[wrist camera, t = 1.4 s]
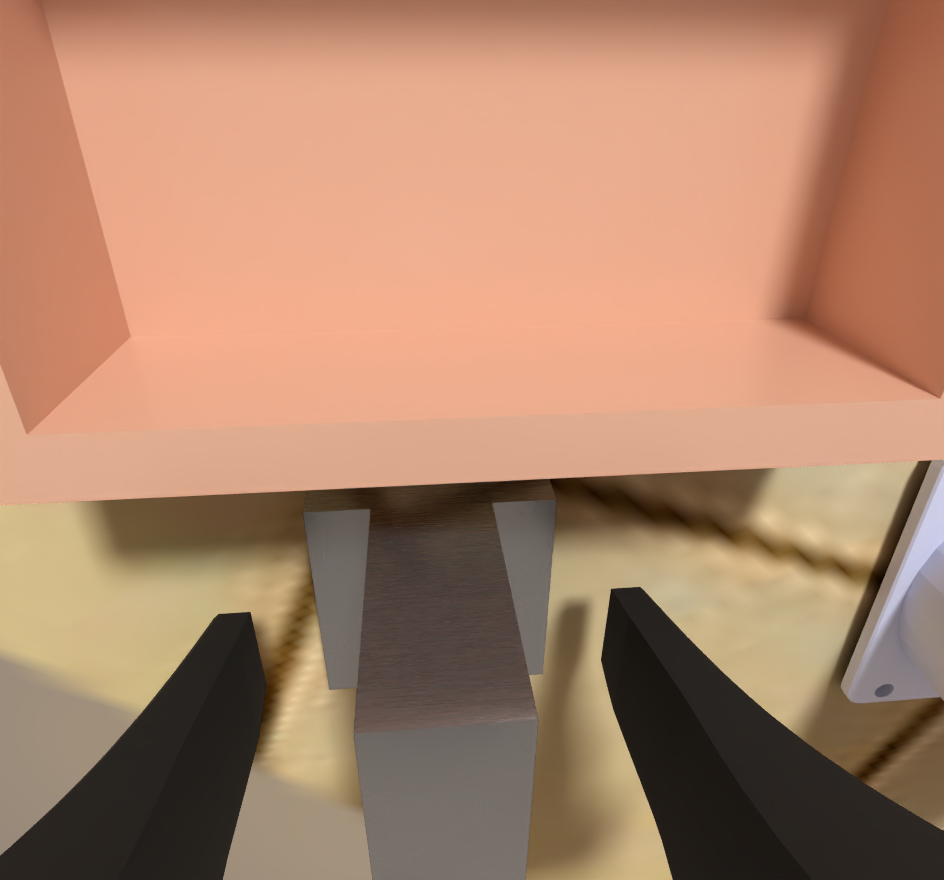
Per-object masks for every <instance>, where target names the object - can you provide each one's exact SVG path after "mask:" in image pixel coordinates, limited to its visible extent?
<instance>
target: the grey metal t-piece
mask: <svg viewBox="0 0 944 880" xmlns="http://www.w3.org/2000/svg"><path fill="white" fill-rule="evenodd" d="M556 505H557V499H556V496H555V493H554V490H553V488H552V485H551V482H550V480H549V479H532V480H511V481H490V482H470V483H449V484H428V485H407V486H387V487H366V488H345V489H324V490H308V492H307V496H306V500H305V505H304V509H303V518H304V525H305V531H306V538H307V544H308V551H309V558H310V564H311V571H312V578H313V584H314V591H315V597H316V604H317V611H318V617H319V624H320V631H321V637H322V644H323V650H324V657H325V664H326V670H327V677H328V683H329V690H332V689H346V688H357V695H356V708H355V721H354V742H355V749H356V757H357V765H358V772H359V780H360V787H361V795H362V803H363V810H364V818H365V826H366V833H367V840H368V849H369V856H370V864H371V871H372V878H373V880H526V867H527V855H528V842H529V830H530V818H531V805H532V793H533V780H534V768H535V755H536V743H537V730H538V716H537V711H536V706H535V701H534V697H533V692H532V687H531V683H530V678H529V675H537V674H543V665H544V652H545V640H546V628H547V615H548V603H549V591H550V578H551V566H552V554H553V541H554V529H555V517H556Z"/></svg>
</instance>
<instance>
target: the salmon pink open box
mask: <svg viewBox="0 0 944 880" xmlns="http://www.w3.org/2000/svg"><path fill="white" fill-rule="evenodd" d="M926 460H944V0H0V505H14V504H34V503H55V502H76V501H96V500H117V499H138V498H159V497H179V496H200V495H221V494H242V493H262V492H283V491H304V490H324V489H345V488H366V487H387V486H407V485H428V484H449V483H470V482H490V481H511V480H532V479H552V478H573V477H594V476H615V475H635V474H656V473H677V472H698V471H718V470H739V469H760V468H780V467H801V466H822V465H843V464H863V463H884V462H905V461H926Z"/></svg>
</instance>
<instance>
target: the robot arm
mask: <svg viewBox="0 0 944 880" xmlns="http://www.w3.org/2000/svg"><path fill="white" fill-rule="evenodd" d="M601 662H602V666H603V670H604V675H605V679H606V683H607V687H608V691H609V695H610V699H611V702H612V706H613V710H614V712H615V715H616V718H617V721H618V723H619V726H620V729H621V731H622V734H623V737H624V739H625V742H626V745H627V747H628V750H629V753H630V755H631V758H632V760H633V763H634V766H635V768H636V771H637V774H638V776H639V779H640V781H641V784H642V787H643V789H644V792H645V795H646V797H647V800H648V802H649V805H650V808H651V810H652V813H653V816H654V819H655V821H656V824H657V827H658V830H659V833H660V836H661V839H662V843H663V846H664V850H665V853H666V857H667V860H668V864H669V868H670V871H671V875H672V878H673V880H944V831H943V830H941V829H939V828H937V827H936V826H934V825H932V824H930V823H928V822H927V821H925V820H923V819H922V818H920V817H918V816H917V815H915V814H913V813H912V812H910V811H908V810H907V809H905V808H903V807H902V806H900V805H898V804H897V803H895V802H893V801H892V800H890V799H888V798H887V797H885V796H884V795H882V794H880V793H879V792H877V791H876V790H874V789H873V788H871V787H869V786H868V785H866V784H865V783H863V782H862V781H860V780H859V779H857V778H856V777H854V776H853V775H851V774H850V773H848V772H847V771H846V770H844V769H843V768H841V767H840V766H838V765H837V764H835V763H834V762H832V761H831V760H829V759H828V758H827V757H825V756H824V755H822V754H821V753H820V752H818V751H817V750H815V749H814V748H813V747H811V746H810V745H809V744H807V743H806V742H805V741H803V740H802V739H801V738H799V737H798V736H797V735H796V734H794V733H793V732H792V731H790V730H789V729H788V728H787V727H785V726H784V725H783V724H781V723H780V722H779V721H778V720H776V719H775V718H774V717H773V716H771V715H770V714H769V713H768V712H767V711H765V710H764V709H763V708H762V707H761V706H760V705H758V704H757V703H756V702H755V701H754V700H753V699H752V698H750V697H749V696H748V695H747V694H746V693H745V692H744V691H743V690H741V689H740V688H739V687H738V686H737V685H736V684H735V683H734V682H733V681H732V680H731V679H729V678H728V677H727V676H726V675H725V674H724V673H723V672H722V671H721V670H720V669H719V668H718V667H717V666H716V665H715V664H714V663H713V662H712V661H711V660H710V659H709V658H708V657H707V656H706V655H705V654H704V653H703V652H702V651H701V650H700V649H699V648H698V647H697V646H696V645H695V644H694V643H693V642H692V641H691V640H690V639H689V638H688V637H687V636H686V635H685V634H684V633H683V632H682V631H681V630H680V629H679V628H678V627H677V625H676V624H675V623H674V622H673V621H672V620H671V619H670V618H669V617H668V616H667V615H666V614H665V613H664V612H663V610H662V609H661V608H660V607H659V606H658V605H657V604H656V603H655V602H654V601H653V600H652V599H651V597H650V596H649V595H648V594H647V593H646V592H645V591H644V590H643V589H642V588H641V587H632V588H617V589H611V594H610V601H609V608H608V615H607V622H606V629H605V636H604V643H603V650H602V657H601ZM841 689H842V691H843V692H844V694H845V695H846V696H847V698H848V699H849V701H851V702H853V703H874V702H886V701H898V700H911V699H923V698H935V697H941V698H942V700H943V701H944V460H932V461H931V463H930V466H929V468H928V471H927V473H926V476H925V478H924V481H923V483H922V486H921V488H920V491H919V493H918V496H917V498H916V500H915V503H914V505H913V508H912V510H911V513H910V515H909V518H908V520H907V523H906V525H905V528H904V530H903V532H902V535H901V537H900V540H899V542H898V545H897V547H896V550H895V552H894V555H893V557H892V560H891V562H890V565H889V567H888V569H887V572H886V574H885V577H884V579H883V582H882V584H881V587H880V589H879V592H878V594H877V597H876V599H875V601H874V604H873V606H872V609H871V611H870V614H869V616H868V619H867V621H866V624H865V626H864V629H863V631H862V634H861V636H860V638H859V641H858V643H857V646H856V648H855V651H854V653H853V656H852V658H851V661H850V663H849V666H848V668H847V670H846V673H845V675H844V678H843V680H842V683H841ZM265 691H266V681H265V677H264V672H263V667H262V663H261V658H260V654H259V649H258V644H257V640H256V635H255V631H254V626H253V622H252V617H251V612H243V613H228V614H218V615H217V616H216V617H215V618H214V619H213V620H212V622H211V623H210V624H209V626H208V627H207V629H206V630H205V631H204V633H203V634H202V636H201V637H200V638H199V640H198V641H197V642H196V644H195V645H194V646H193V648H192V649H191V651H190V652H189V653H188V655H187V656H186V657H185V659H184V660H183V661H182V663H181V664H180V665H179V666H178V668H177V669H176V670H175V672H174V673H173V674H172V676H171V677H170V678H169V679H168V681H167V682H166V683H165V684H164V686H163V687H162V688H161V689H160V691H159V692H158V693H157V694H156V696H155V697H154V698H153V699H152V701H151V702H150V703H149V704H148V706H147V707H146V708H145V709H144V711H143V712H142V713H141V714H140V715H139V716H138V718H137V719H136V720H135V721H134V722H133V723H132V724H131V726H130V727H129V728H128V729H127V730H126V731H125V733H124V734H123V735H122V736H121V737H120V738H119V739H118V741H117V742H116V743H115V744H114V745H113V746H112V747H111V749H110V750H109V751H108V752H107V753H106V754H105V755H104V756H103V757H102V758H101V760H99V762H98V763H97V764H96V765H95V766H94V767H93V768H92V769H91V770H90V771H89V772H88V773H87V774H86V775H85V776H84V777H83V778H82V779H81V781H79V782H78V783H77V784H76V786H75V787H73V788H72V789H71V790H70V791H69V792H68V794H66V795H65V797H64V798H62V799H61V800H60V801H59V802H58V803H57V804H56V805H55V806H54V807H53V808H52V809H51V810H50V811H49V812H48V813H47V814H46V815H45V816H43V817H42V818H41V819H40V820H39V821H38V822H37V823H36V824H35V825H34V826H33V827H32V828H31V829H29V830H28V831H27V832H26V833H25V834H24V835H23V836H22V837H21V838H20V839H18V840H17V841H16V842H15V843H14V844H13V845H12V846H11V847H10V848H8V849H7V850H6V851H5V852H4V853H3V854H2V855H0V880H223V876H224V872H225V867H226V862H227V858H228V854H229V850H230V846H231V843H232V838H233V835H234V831H235V827H236V824H237V820H238V816H239V812H240V808H241V805H242V801H243V797H244V793H245V789H246V785H247V782H248V778H249V774H250V770H251V766H252V763H253V759H254V755H255V751H256V747H257V743H258V739H259V734H260V727H261V720H262V714H263V706H264V699H265Z"/></svg>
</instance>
